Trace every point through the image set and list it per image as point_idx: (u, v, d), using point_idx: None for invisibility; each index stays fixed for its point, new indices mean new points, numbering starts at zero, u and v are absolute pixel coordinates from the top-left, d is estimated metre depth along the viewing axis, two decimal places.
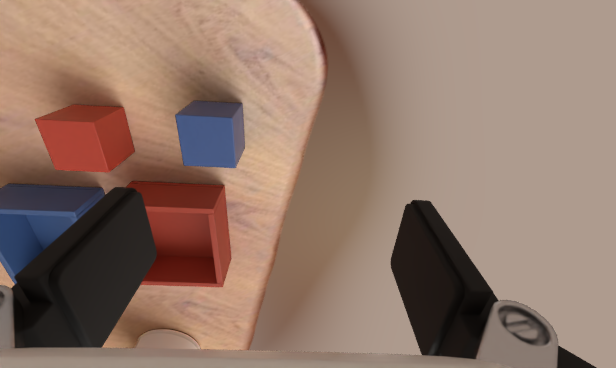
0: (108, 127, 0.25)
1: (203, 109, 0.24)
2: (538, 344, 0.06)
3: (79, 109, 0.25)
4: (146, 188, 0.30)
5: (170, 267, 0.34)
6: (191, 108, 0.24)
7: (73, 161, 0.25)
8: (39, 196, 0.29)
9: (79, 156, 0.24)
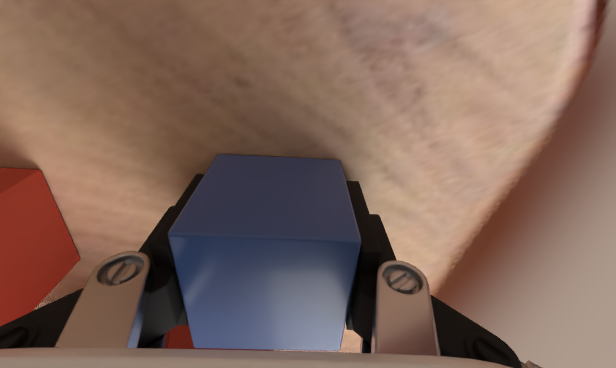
0: None
1: (254, 196, 0.08)
2: (416, 291, 0.07)
3: None
4: None
5: None
6: (217, 191, 0.08)
7: None
8: None
9: None
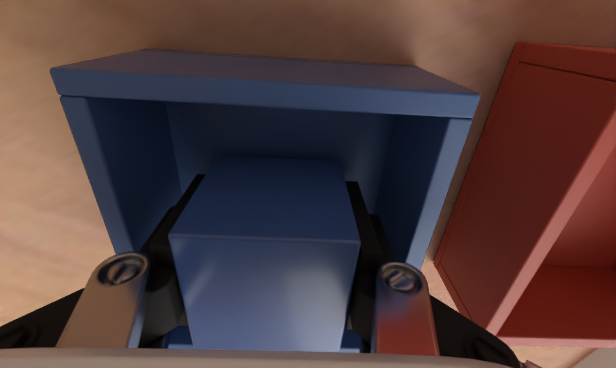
0: None
1: (254, 198, 0.08)
2: (415, 290, 0.07)
3: None
4: (610, 49, 0.09)
5: (524, 293, 0.13)
6: (217, 193, 0.08)
7: None
8: (278, 66, 0.08)
9: None
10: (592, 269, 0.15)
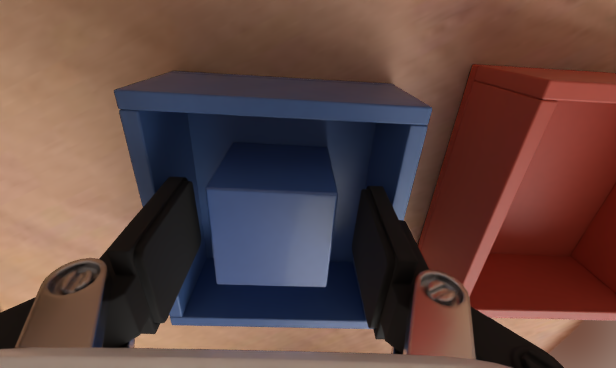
0: None
1: (263, 169, 0.11)
2: (455, 303, 0.07)
3: None
4: (542, 70, 0.12)
5: (492, 276, 0.15)
6: (236, 165, 0.11)
7: None
8: (281, 85, 0.11)
9: None
10: (554, 256, 0.17)
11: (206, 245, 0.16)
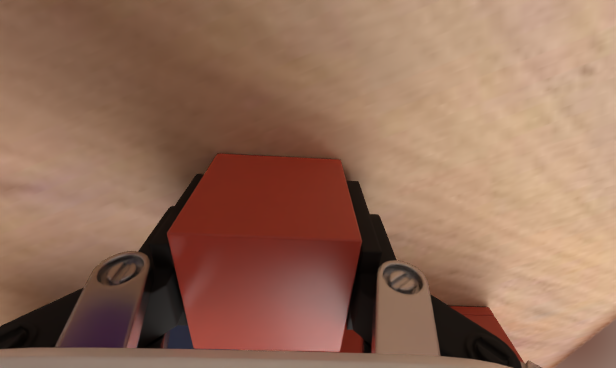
0: None
1: None
2: (416, 290, 0.07)
3: (251, 173, 0.09)
4: (346, 328, 0.13)
5: None
6: None
7: (251, 332, 0.08)
8: None
9: (276, 321, 0.08)
10: None
11: None
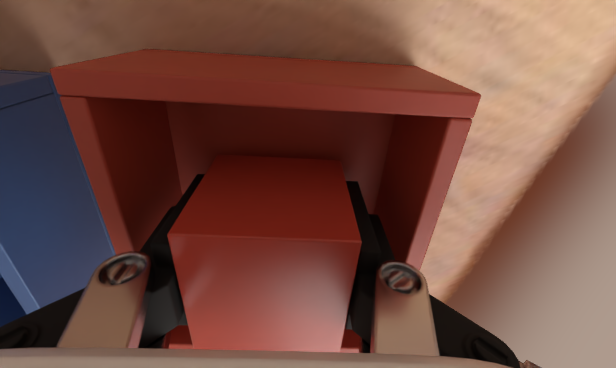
0: None
1: None
2: (414, 290, 0.07)
3: (251, 174, 0.09)
4: (194, 57, 0.09)
5: None
6: None
7: (251, 333, 0.08)
8: None
9: (276, 322, 0.08)
10: None
11: None
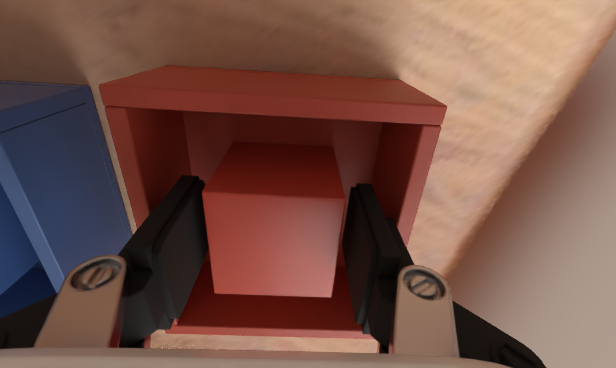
0: None
1: None
2: (437, 297, 0.07)
3: (261, 155, 0.12)
4: (209, 73, 0.11)
5: None
6: None
7: (261, 278, 0.11)
8: None
9: (281, 268, 0.10)
10: (336, 267, 0.16)
11: None
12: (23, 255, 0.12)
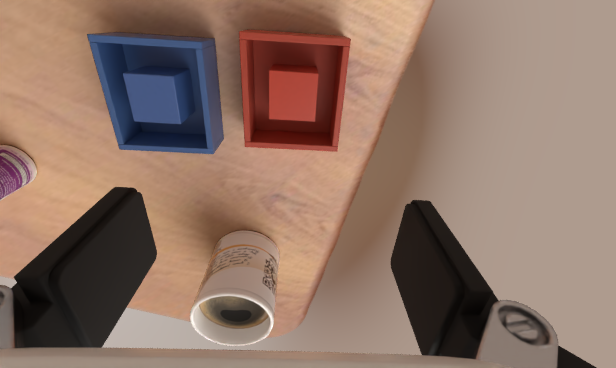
0: None
1: (150, 71, 0.27)
2: (538, 344, 0.06)
3: (286, 66, 0.29)
4: (267, 31, 0.28)
5: (277, 136, 0.32)
6: (140, 70, 0.28)
7: (287, 110, 0.28)
8: (155, 36, 0.27)
9: (295, 105, 0.28)
10: (319, 133, 0.33)
11: (141, 124, 0.33)
12: (186, 111, 0.30)
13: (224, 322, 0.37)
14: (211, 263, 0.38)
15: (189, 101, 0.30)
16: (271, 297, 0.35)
